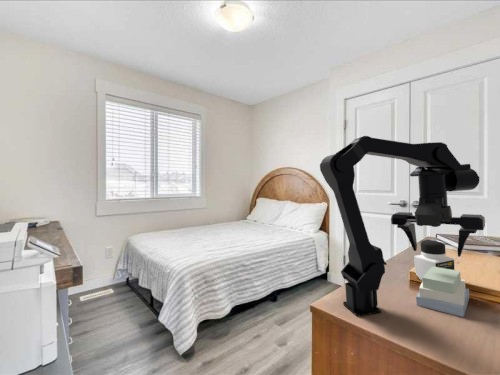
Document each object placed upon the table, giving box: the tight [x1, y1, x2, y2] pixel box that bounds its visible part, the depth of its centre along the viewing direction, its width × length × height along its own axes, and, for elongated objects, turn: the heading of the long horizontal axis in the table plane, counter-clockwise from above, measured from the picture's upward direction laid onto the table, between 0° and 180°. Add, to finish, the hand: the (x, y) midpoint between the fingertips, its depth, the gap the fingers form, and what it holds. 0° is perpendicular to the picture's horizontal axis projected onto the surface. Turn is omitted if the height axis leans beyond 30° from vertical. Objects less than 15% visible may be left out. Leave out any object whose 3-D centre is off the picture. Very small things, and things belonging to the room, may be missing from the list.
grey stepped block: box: [415, 278, 470, 318], centre depth 63 cm, size 12×9×4 cm
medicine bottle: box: [413, 239, 455, 282], centre depth 76 cm, size 7×7×12 cm
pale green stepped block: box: [421, 266, 462, 294], centre depth 63 cm, size 10×6×2 cm, turn 133°
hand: (436, 253), depth 64 cm, fingers open, 9 cm apart
